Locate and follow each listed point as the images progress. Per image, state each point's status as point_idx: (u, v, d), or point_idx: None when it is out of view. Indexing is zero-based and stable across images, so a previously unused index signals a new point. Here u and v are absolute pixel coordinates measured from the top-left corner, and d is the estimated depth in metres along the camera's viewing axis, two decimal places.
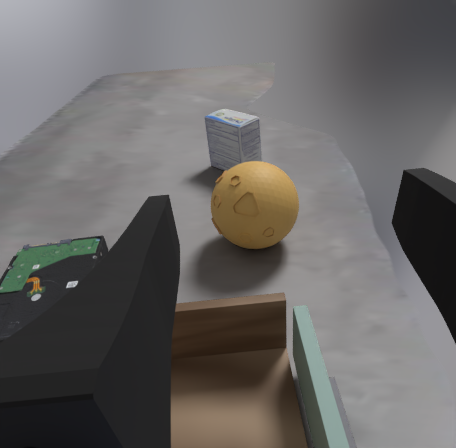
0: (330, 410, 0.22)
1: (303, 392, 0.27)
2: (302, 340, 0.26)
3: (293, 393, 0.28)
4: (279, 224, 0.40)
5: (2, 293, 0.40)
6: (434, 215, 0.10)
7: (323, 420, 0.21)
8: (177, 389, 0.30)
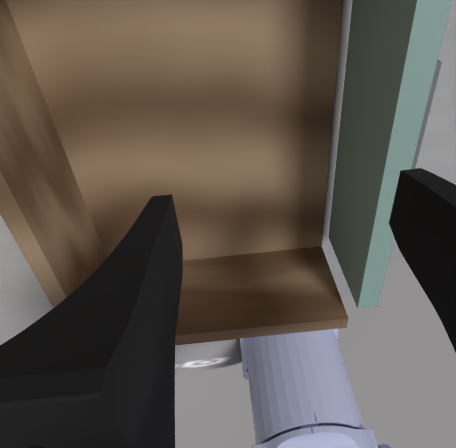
0: (405, 141, 0.14)
1: None
2: None
3: None
4: None
5: None
6: (430, 216, 0.10)
7: (388, 155, 0.14)
8: None
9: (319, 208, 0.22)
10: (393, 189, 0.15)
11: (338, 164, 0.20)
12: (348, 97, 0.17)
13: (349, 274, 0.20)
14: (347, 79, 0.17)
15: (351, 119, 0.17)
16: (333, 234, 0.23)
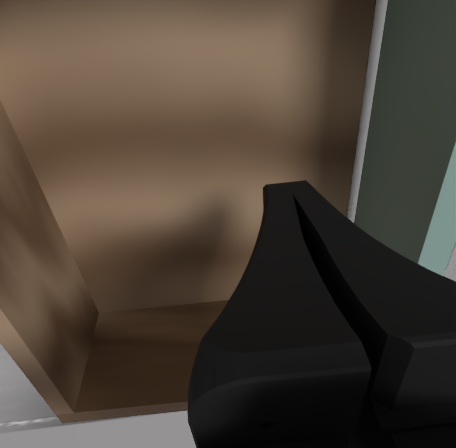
0: None
1: (399, 11, 0.12)
2: None
3: None
4: None
5: None
6: (301, 229, 0.10)
7: (434, 213, 0.11)
8: None
9: None
10: (436, 250, 0.12)
11: (360, 204, 0.17)
12: (376, 131, 0.15)
13: None
14: (375, 110, 0.15)
15: (380, 157, 0.15)
16: None
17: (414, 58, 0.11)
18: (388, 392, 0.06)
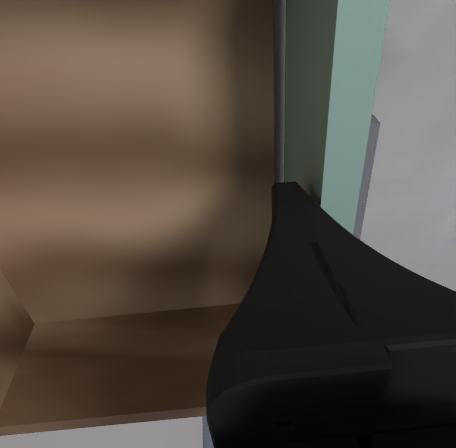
0: (340, 217, 0.11)
1: (291, 25, 0.12)
2: (337, 22, 0.08)
3: (267, 0, 0.12)
4: None
5: None
6: None
7: None
8: None
9: None
10: None
11: None
12: (288, 145, 0.14)
13: None
14: (286, 123, 0.14)
15: (291, 171, 0.14)
16: None
17: (301, 74, 0.11)
18: None
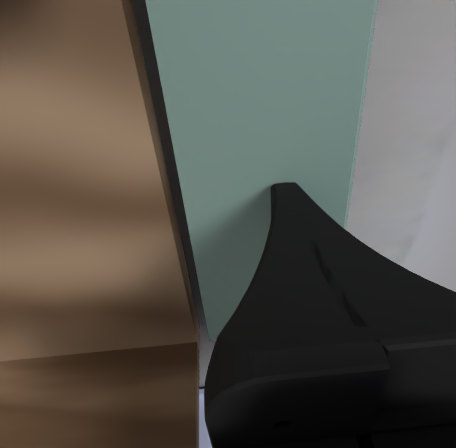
0: (349, 195, 0.12)
1: (188, 59, 0.10)
2: (369, 17, 0.08)
3: (121, 34, 0.11)
4: None
5: None
6: None
7: (344, 219, 0.12)
8: None
9: (182, 304, 0.18)
10: None
11: (203, 264, 0.15)
12: (200, 187, 0.13)
13: None
14: (186, 168, 0.13)
15: (221, 208, 0.13)
16: None
17: (244, 98, 0.10)
18: None
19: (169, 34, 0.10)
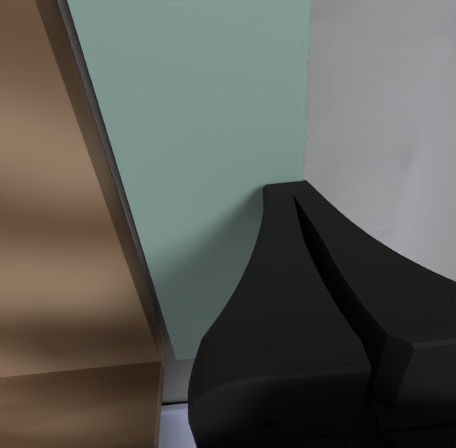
0: None
1: (127, 66, 0.10)
2: (308, 4, 0.09)
3: (42, 44, 0.10)
4: None
5: None
6: (301, 229, 0.10)
7: None
8: None
9: (140, 324, 0.17)
10: None
11: (163, 282, 0.15)
12: (152, 201, 0.12)
13: None
14: (135, 184, 0.12)
15: (179, 217, 0.13)
16: (189, 349, 0.17)
17: (194, 98, 0.10)
18: (388, 392, 0.06)
19: (102, 42, 0.09)
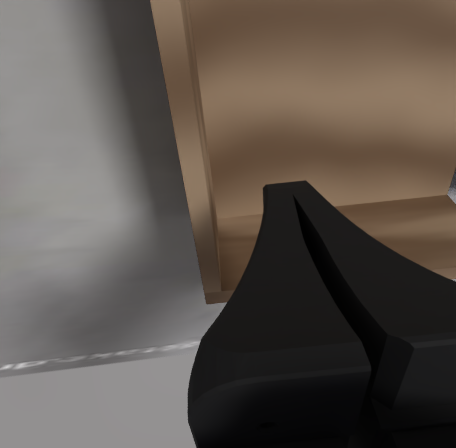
0: None
1: None
2: None
3: None
4: None
5: None
6: (301, 229, 0.10)
7: None
8: None
9: None
10: None
11: None
12: None
13: None
14: None
15: None
16: None
17: None
18: (388, 392, 0.06)
19: None
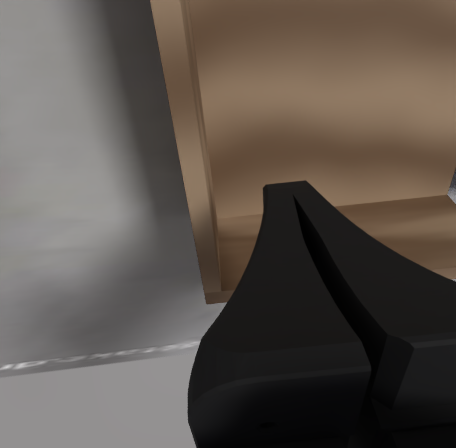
0: None
1: None
2: None
3: None
4: None
5: None
6: (301, 229, 0.10)
7: None
8: None
9: None
10: None
11: None
12: None
13: None
14: None
15: None
16: None
17: None
18: (388, 392, 0.06)
19: None
